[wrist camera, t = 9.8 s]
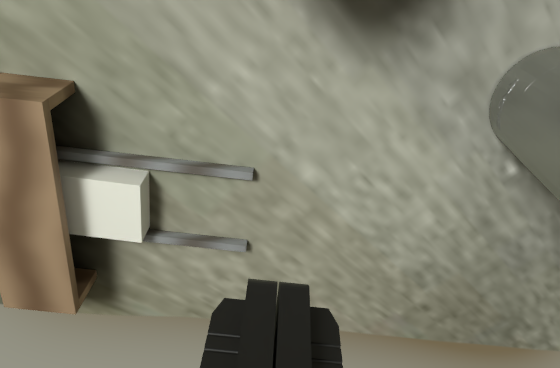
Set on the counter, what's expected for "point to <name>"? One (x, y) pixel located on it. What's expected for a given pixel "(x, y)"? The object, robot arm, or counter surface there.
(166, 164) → the overhang
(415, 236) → the counter surface
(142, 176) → the cream rectangular block
